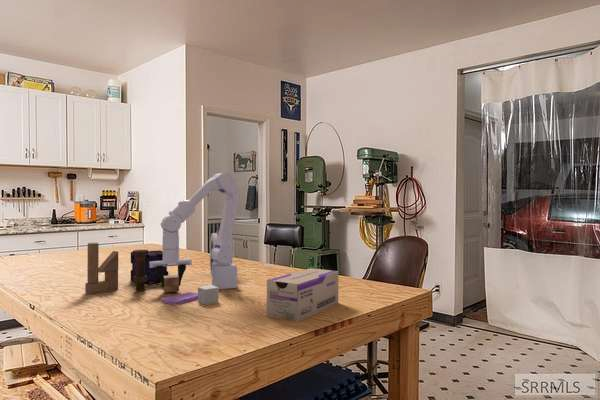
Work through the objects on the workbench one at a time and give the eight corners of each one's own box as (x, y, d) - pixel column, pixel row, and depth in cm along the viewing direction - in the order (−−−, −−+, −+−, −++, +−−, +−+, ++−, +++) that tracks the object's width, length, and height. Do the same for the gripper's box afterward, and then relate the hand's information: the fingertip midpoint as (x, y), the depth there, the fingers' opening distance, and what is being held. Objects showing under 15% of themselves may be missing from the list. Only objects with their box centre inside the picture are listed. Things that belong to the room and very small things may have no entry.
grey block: (211, 299, 141) (211, 285, 141) (218, 302, 137) (218, 287, 137) (197, 301, 138) (197, 286, 138) (204, 305, 134) (204, 289, 134)
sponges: (161, 304, 137) (161, 298, 137) (190, 296, 147) (190, 291, 147) (176, 306, 133) (176, 301, 133) (204, 299, 144) (204, 293, 144)
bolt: (142, 292, 150) (142, 251, 150) (129, 292, 151) (129, 251, 151) (150, 289, 156) (151, 249, 156) (138, 288, 157) (138, 249, 157)
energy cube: (168, 282, 169) (168, 253, 169) (137, 286, 162) (137, 255, 162) (160, 278, 179) (160, 250, 179) (130, 281, 172) (130, 252, 172)
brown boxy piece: (177, 288, 154) (177, 274, 154) (178, 291, 150) (178, 277, 149) (163, 289, 152) (163, 275, 152) (164, 292, 148) (164, 278, 148)
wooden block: (118, 289, 156) (118, 241, 156) (90, 294, 147) (90, 243, 147) (113, 288, 158) (113, 240, 158) (84, 293, 150) (85, 243, 150)
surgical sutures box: (310, 299, 142) (310, 268, 142) (338, 303, 137) (338, 271, 137) (266, 316, 121) (266, 280, 121) (297, 322, 115) (297, 284, 115)
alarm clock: (209, 271, 194) (209, 229, 194) (225, 271, 196) (226, 229, 196) (214, 280, 174) (214, 233, 174) (232, 279, 176) (232, 232, 176)
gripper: (150, 251, 144) (150, 290, 144) (192, 248, 150) (193, 286, 150) (149, 248, 151) (149, 286, 151) (190, 246, 156) (190, 282, 156)
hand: (170, 286), depth 151 cm, fingers closed on brown boxy piece, 5 cm apart
